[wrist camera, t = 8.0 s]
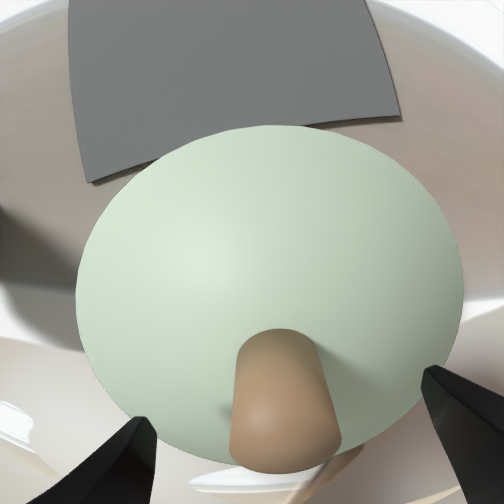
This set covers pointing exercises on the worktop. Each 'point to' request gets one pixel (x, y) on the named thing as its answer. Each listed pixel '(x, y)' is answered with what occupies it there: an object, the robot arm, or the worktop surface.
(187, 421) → the lid
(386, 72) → the mat
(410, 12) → the worktop surface
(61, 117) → the worktop surface
